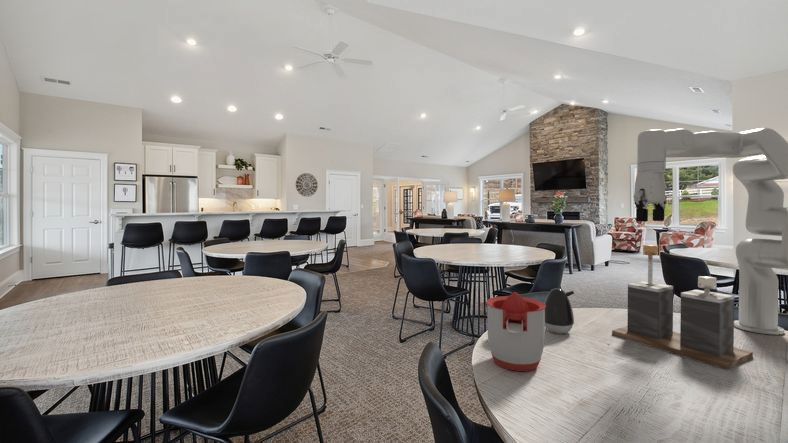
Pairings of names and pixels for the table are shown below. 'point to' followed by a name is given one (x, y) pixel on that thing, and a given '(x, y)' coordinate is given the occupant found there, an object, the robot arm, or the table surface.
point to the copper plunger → (650, 259)
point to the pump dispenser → (558, 311)
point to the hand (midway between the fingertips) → (650, 221)
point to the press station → (684, 324)
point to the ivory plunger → (707, 283)
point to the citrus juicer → (516, 331)
